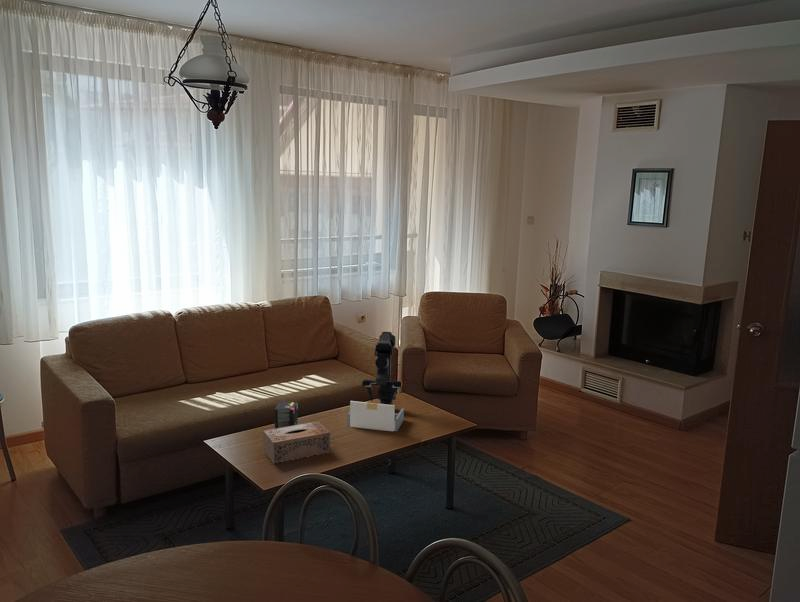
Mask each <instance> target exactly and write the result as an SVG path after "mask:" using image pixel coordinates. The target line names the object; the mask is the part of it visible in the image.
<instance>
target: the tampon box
mask: <svg viewBox="0 0 800 602" xmlns="http://www.w3.org/2000/svg"><path fill="white" fill-rule="evenodd" d="M298 403H299V402H297V401H296V402H295V401H279V402H278V403H277V405H276V406H275V408H274V411H273V412H274V429H276V428H282V427H288V426H294V425H299V424H298V422H299V420H298V416H299V415H298V411H299V409H298V407H299V405H298Z"/></svg>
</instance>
